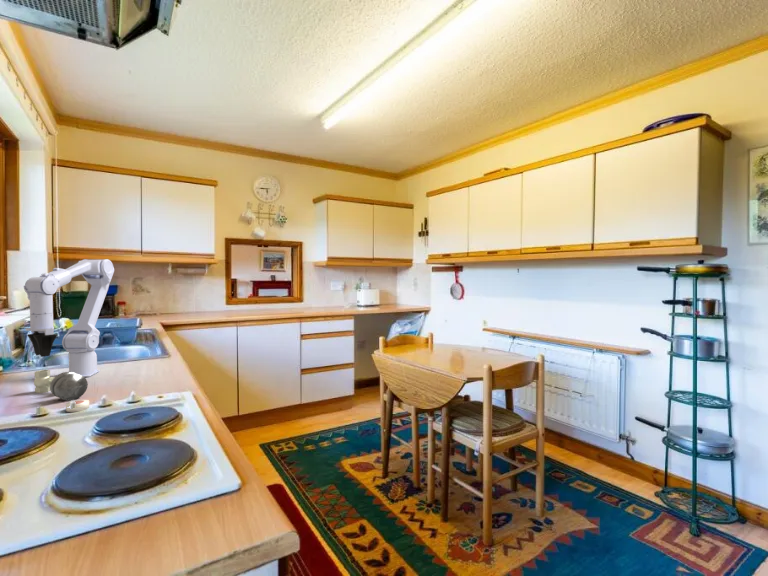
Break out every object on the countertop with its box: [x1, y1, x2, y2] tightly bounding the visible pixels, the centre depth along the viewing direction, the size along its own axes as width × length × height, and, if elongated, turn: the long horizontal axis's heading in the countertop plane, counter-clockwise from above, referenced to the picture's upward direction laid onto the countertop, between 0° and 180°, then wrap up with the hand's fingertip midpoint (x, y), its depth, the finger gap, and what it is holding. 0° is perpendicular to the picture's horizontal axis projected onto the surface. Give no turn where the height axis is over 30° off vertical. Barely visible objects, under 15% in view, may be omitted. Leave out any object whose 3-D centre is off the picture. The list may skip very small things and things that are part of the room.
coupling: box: [49, 371, 89, 402], centre depth 118 cm, size 5×8×8 cm, turn 145°
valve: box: [33, 369, 56, 394], centre depth 125 cm, size 7×7×12 cm
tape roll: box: [65, 399, 90, 413], centre depth 109 cm, size 5×5×2 cm
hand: (42, 355), depth 131 cm, fingers open, 4 cm apart
